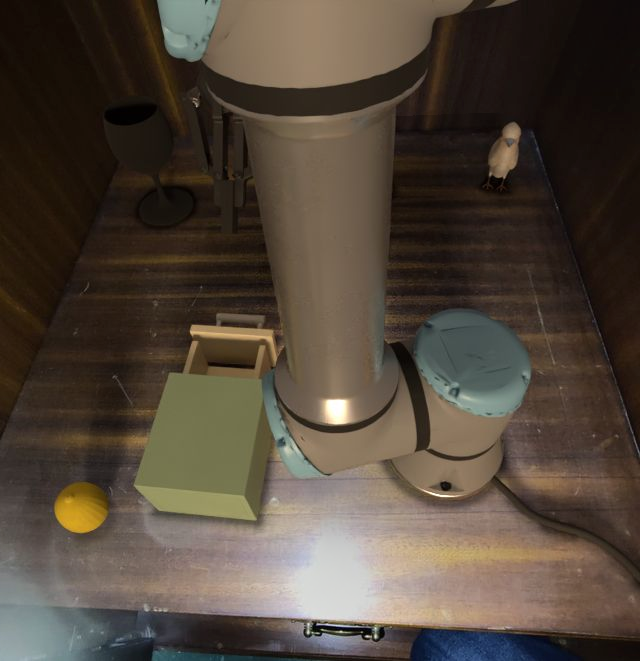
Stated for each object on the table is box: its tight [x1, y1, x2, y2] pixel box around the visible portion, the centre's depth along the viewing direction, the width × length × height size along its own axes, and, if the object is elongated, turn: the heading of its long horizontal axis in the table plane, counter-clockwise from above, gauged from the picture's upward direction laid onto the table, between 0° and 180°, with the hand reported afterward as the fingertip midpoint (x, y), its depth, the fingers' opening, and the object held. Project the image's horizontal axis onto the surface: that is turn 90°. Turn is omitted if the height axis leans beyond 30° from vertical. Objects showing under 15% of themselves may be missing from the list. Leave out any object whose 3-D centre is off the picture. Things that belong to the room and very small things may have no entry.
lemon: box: [53, 481, 110, 534], centre depth 62 cm, size 6×6×8 cm
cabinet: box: [133, 372, 273, 522], centre depth 65 cm, size 15×13×10 cm
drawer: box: [182, 312, 279, 379], centre depth 71 cm, size 18×11×8 cm, turn 174°
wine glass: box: [102, 94, 195, 227], centre depth 90 cm, size 10×10×20 cm
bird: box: [481, 121, 522, 192], centre depth 91 cm, size 5×14×15 cm, turn 163°
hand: (229, 233), depth 66 cm, fingers closed
